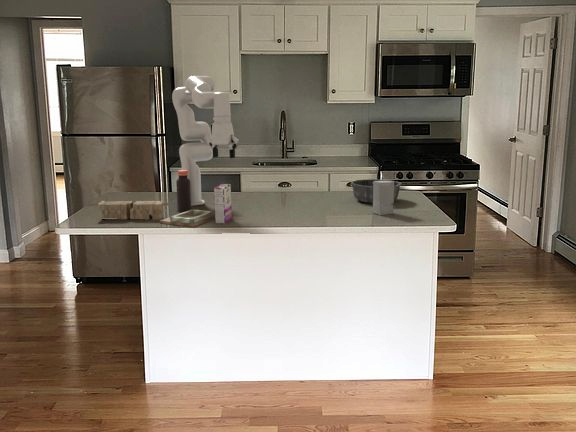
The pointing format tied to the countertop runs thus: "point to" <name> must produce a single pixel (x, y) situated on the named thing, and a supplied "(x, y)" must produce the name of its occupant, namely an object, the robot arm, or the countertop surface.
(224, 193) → the candy bar box
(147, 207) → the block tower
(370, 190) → the bundt pan
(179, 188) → the bottle
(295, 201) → the countertop surface
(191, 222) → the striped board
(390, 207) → the skincare box
